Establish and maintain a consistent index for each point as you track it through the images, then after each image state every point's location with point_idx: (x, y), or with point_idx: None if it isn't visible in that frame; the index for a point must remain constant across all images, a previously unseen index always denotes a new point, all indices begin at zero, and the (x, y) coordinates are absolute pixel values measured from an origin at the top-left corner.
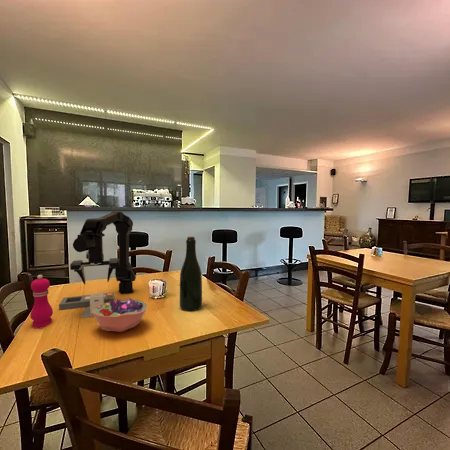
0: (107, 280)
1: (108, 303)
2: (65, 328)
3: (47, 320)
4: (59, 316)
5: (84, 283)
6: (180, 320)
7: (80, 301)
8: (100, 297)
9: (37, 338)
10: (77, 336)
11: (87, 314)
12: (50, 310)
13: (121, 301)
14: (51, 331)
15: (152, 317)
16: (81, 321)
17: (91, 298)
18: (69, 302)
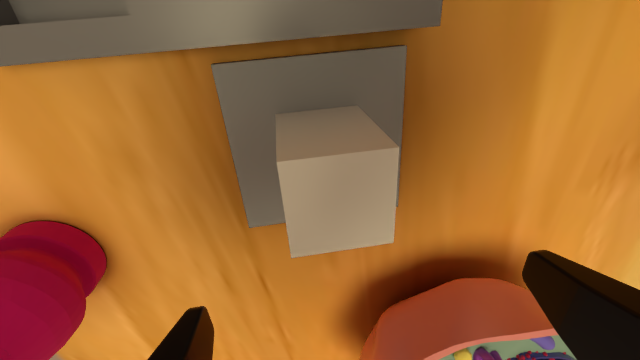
0: (543, 311)
1: (430, 356)
2: (212, 297)
3: (83, 288)
4: (84, 166)
5: (206, 350)
6: (634, 281)
7: (140, 29)
8: (373, 242)
9: (139, 351)
10: (288, 346)
11: (270, 193)
12: (63, 332)
13: (503, 347)
14: (161, 314)
15: (563, 248)
16: (260, 246)
17: (303, 252)
18: (28, 31)
